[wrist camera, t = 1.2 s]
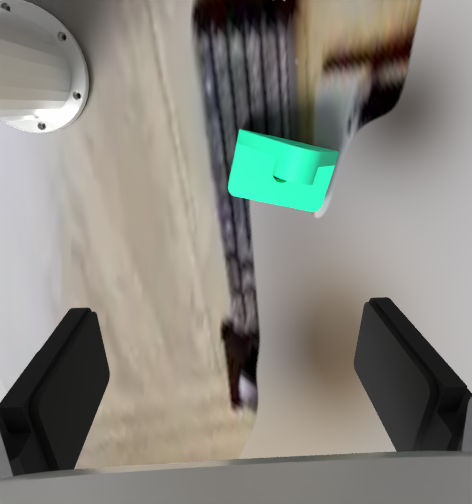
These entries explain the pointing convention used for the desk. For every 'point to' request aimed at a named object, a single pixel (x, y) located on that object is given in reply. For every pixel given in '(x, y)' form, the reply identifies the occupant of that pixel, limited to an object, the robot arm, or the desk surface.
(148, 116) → the desk surface
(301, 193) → the camera mount
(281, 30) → the desk surface
